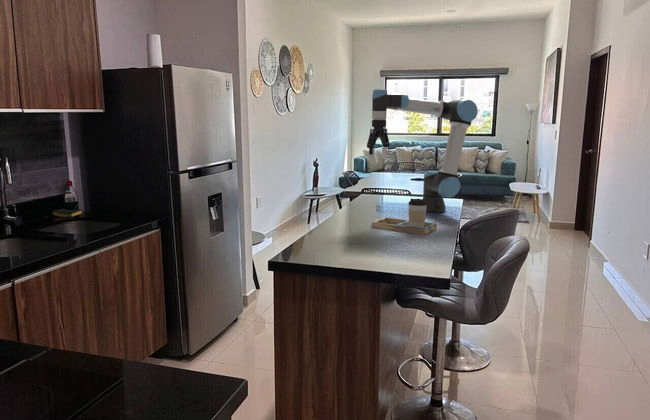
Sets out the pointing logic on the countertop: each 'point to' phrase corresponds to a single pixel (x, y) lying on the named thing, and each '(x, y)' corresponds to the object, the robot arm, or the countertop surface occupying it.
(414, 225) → the coffee cup
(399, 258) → the countertop surface
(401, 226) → the oak rack
